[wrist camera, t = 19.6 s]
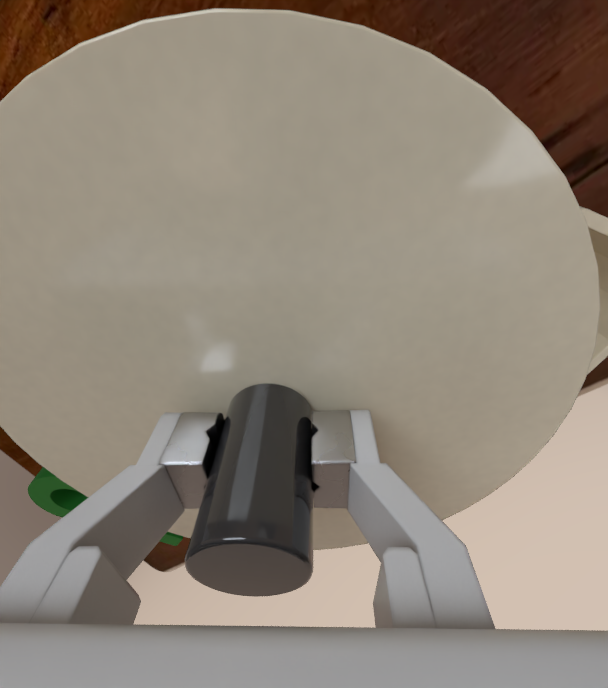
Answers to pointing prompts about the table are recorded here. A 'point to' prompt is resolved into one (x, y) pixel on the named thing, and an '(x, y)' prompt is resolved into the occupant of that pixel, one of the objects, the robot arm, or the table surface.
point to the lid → (282, 272)
